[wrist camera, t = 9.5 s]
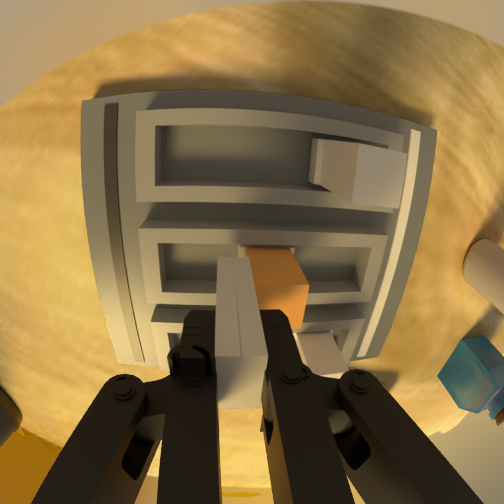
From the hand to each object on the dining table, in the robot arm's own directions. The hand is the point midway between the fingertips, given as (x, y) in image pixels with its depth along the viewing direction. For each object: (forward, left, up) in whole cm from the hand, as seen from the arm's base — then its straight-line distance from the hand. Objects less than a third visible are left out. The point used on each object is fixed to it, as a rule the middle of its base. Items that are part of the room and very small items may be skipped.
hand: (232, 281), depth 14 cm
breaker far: (+6, -6, -3) cm, 9 cm away
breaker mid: (+2, 0, -3) cm, 3 cm away
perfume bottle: (+30, -15, -4) cm, 34 cm away
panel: (+2, 0, -4) cm, 5 cm away
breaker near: (+6, +6, -3) cm, 9 cm away
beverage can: (+23, -1, -4) cm, 23 cm away
